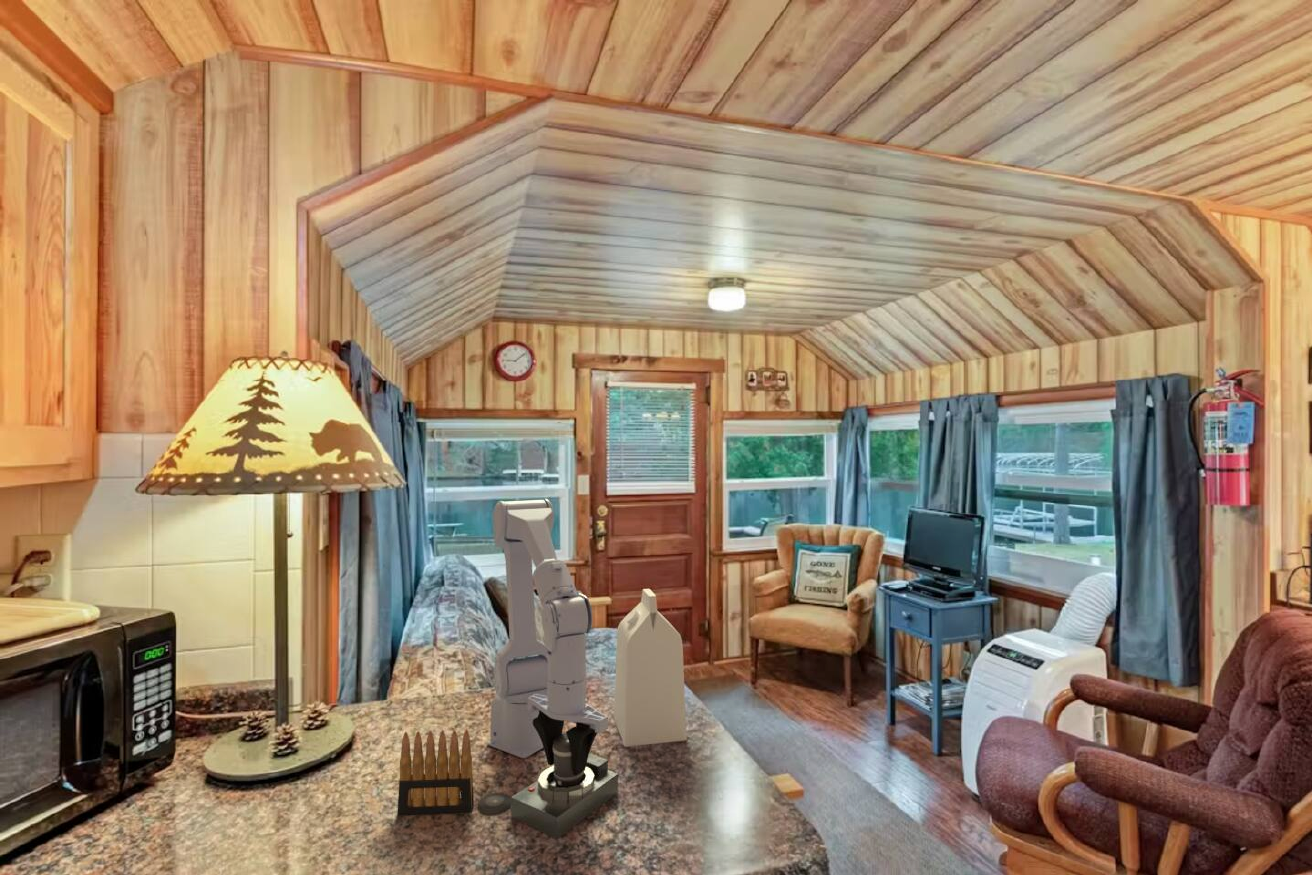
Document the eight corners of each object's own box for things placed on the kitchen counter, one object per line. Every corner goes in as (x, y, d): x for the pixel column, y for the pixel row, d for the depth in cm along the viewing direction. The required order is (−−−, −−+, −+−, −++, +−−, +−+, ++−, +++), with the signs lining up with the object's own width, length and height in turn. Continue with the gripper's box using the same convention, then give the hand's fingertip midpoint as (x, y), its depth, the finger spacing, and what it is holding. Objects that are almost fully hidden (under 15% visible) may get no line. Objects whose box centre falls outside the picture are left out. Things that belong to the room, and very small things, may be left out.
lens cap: (470, 809, 98) (470, 803, 98) (495, 794, 102) (495, 787, 102) (493, 820, 95) (493, 813, 95) (518, 804, 99) (518, 798, 99)
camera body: (511, 817, 95) (511, 786, 95) (574, 775, 107) (574, 747, 107) (556, 838, 90) (557, 805, 90) (618, 792, 102) (618, 763, 102)
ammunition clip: (474, 805, 98) (474, 726, 98) (471, 813, 96) (471, 732, 96) (401, 808, 97) (401, 728, 97) (397, 816, 96) (397, 734, 95)
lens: (547, 781, 98) (546, 743, 98) (566, 766, 102) (565, 729, 102) (571, 790, 96) (570, 751, 96) (590, 774, 100) (589, 736, 100)
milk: (686, 740, 120) (687, 598, 119) (624, 746, 117) (625, 602, 117) (670, 712, 131) (670, 583, 131) (613, 718, 129) (614, 586, 128)
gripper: (621, 679, 98) (620, 769, 98) (549, 660, 106) (549, 743, 106) (590, 694, 92) (590, 790, 92) (517, 673, 100) (517, 761, 100)
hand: (566, 767), depth 99 cm, fingers closed on lens, 4 cm apart
